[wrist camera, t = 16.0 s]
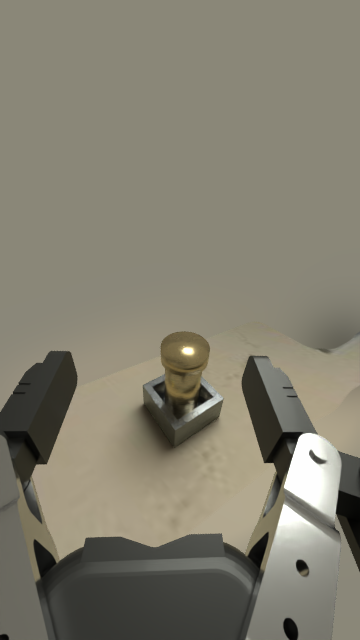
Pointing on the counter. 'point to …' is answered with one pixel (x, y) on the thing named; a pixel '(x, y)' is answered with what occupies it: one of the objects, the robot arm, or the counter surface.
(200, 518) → the counter surface
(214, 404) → the open metal box
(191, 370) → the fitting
